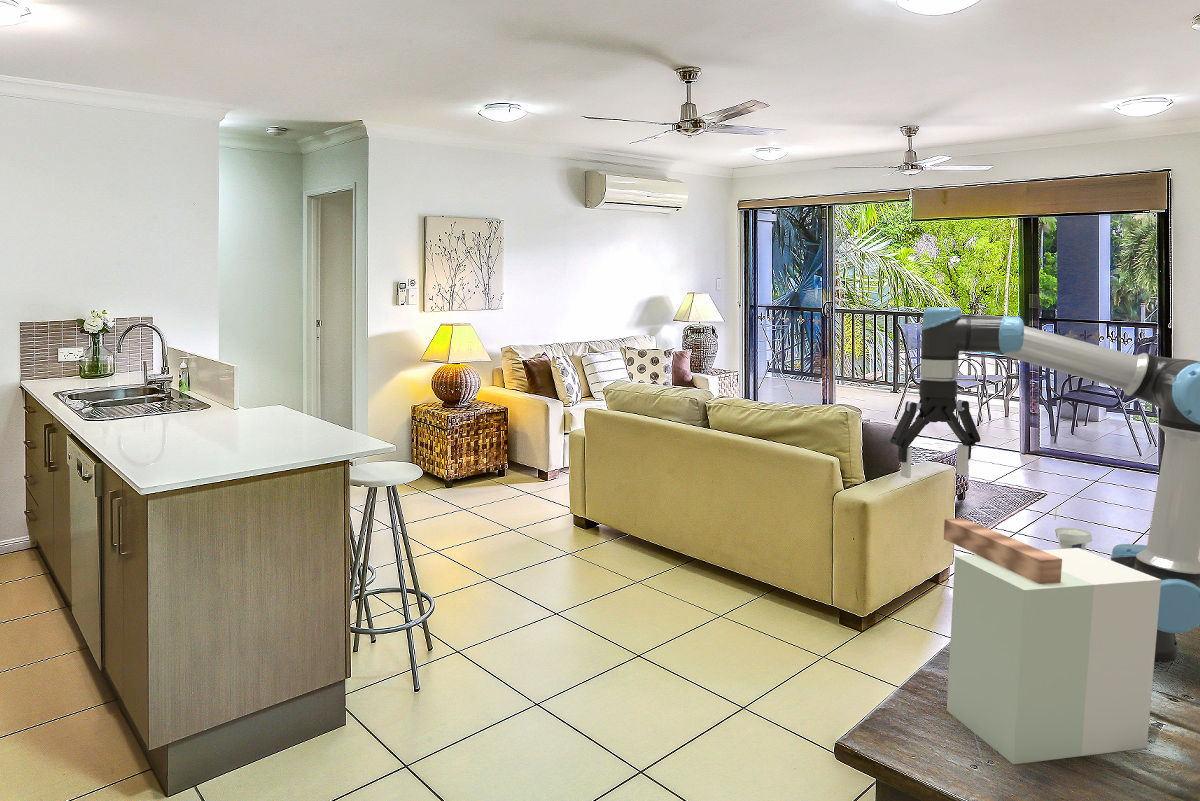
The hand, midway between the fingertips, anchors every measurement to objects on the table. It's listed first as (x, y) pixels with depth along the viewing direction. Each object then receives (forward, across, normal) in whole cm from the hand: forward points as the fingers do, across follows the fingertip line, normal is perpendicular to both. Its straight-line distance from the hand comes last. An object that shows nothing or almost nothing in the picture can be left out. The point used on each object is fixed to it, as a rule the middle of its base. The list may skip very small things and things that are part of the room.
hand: (933, 475), depth 174 cm
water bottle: (+39, -50, -15) cm, 65 cm away
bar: (+9, +7, +30) cm, 32 cm away
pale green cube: (+39, 0, +36) cm, 53 cm away
